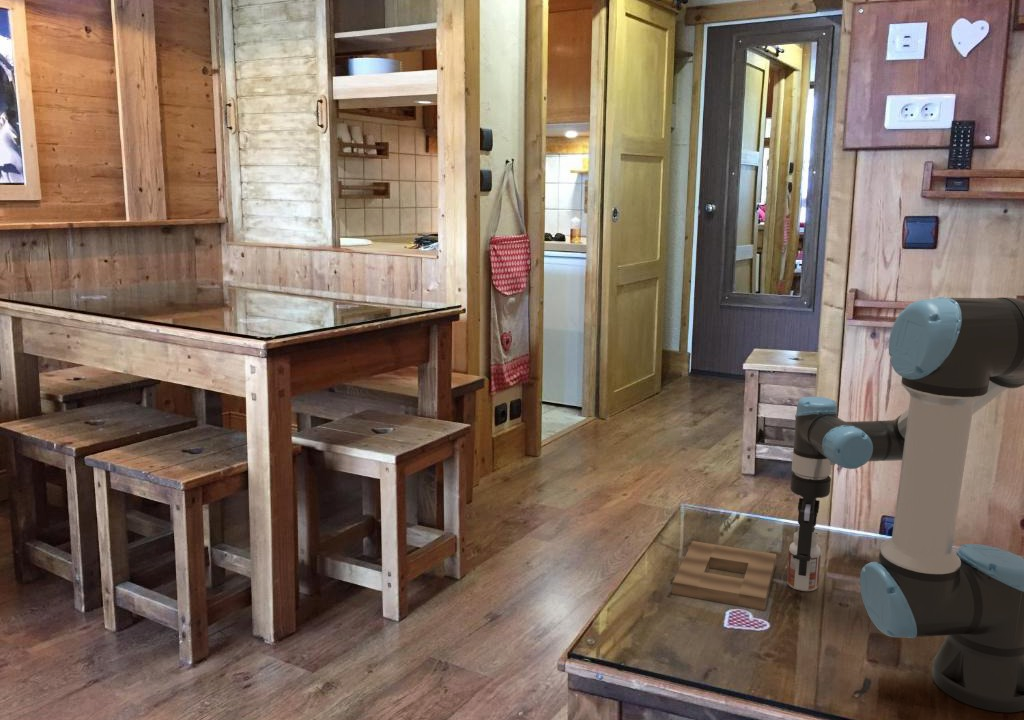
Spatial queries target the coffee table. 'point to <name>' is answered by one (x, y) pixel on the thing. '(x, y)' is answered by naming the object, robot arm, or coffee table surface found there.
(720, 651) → the coffee table surface
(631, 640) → the coffee table surface
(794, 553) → the pill bottle
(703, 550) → the square wooden frame
